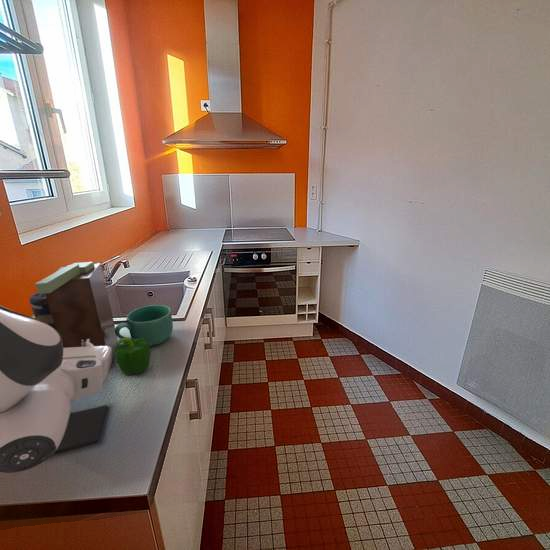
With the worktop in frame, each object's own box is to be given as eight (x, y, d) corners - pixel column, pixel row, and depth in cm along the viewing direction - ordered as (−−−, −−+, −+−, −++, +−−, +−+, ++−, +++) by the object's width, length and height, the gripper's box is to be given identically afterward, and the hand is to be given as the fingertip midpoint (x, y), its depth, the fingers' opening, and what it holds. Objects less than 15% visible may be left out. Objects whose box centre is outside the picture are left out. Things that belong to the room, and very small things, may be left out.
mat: (38, 457, 57) (37, 455, 56) (56, 418, 66) (55, 416, 65) (98, 442, 59) (97, 439, 59) (107, 407, 68) (106, 404, 68)
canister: (86, 336, 99) (73, 285, 94) (61, 352, 91) (45, 297, 85) (63, 333, 102) (48, 283, 96) (36, 348, 93) (18, 294, 87)
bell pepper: (156, 358, 86) (150, 327, 83) (148, 376, 78) (142, 343, 75) (125, 361, 85) (118, 330, 82) (114, 380, 77) (106, 346, 74)
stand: (69, 374, 80) (41, 283, 72) (82, 347, 93) (60, 267, 84) (110, 366, 83) (89, 277, 75) (118, 341, 96) (100, 263, 87)
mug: (167, 326, 104) (163, 301, 101) (180, 341, 95) (176, 313, 92) (115, 342, 95) (108, 315, 92) (123, 361, 85) (116, 331, 82)
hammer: (56, 292, 66) (53, 282, 65) (31, 294, 65) (28, 284, 64) (94, 267, 83) (92, 258, 83) (75, 268, 83) (73, 259, 82)
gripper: (-28, 405, 51) (0, 358, 63) (109, 390, 61) (111, 351, 72) (-31, 374, 49) (-2, 331, 61) (111, 363, 59) (113, 328, 70)
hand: (60, 342), depth 67 cm, fingers open, 8 cm apart
